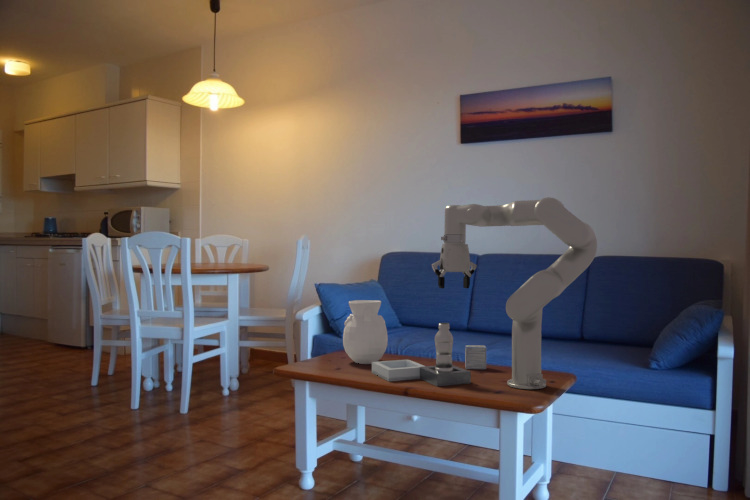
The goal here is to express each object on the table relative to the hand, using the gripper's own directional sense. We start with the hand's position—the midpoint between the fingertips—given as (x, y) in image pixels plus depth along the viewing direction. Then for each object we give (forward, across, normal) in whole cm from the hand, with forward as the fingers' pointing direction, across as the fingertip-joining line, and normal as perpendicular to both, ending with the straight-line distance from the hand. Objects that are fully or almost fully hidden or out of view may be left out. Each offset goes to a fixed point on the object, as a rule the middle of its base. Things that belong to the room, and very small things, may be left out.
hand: (453, 288), depth 206 cm
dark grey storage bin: (+32, -5, -3) cm, 33 cm away
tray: (+32, -16, +10) cm, 38 cm away
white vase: (+33, -20, +39) cm, 55 cm away
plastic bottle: (+32, -5, -3) cm, 33 cm away
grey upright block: (+32, +16, +13) cm, 39 cm away
